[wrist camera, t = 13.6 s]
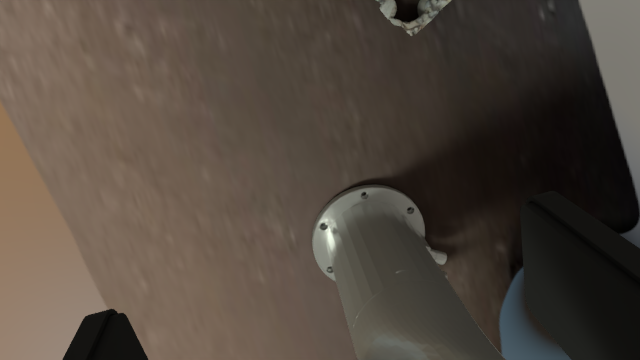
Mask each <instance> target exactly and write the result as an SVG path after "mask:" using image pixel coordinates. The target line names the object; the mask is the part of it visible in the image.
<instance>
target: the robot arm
mask: <svg viewBox="0 0 640 360" xmlns="http://www.w3.org/2000/svg"><path fill="white" fill-rule="evenodd" d="M363 192H365V193H364V194H362V193H363ZM409 207H410V208H409ZM408 208H409V209H408ZM520 217H521V233H522V249H523V265H524V282H525V297H526V302H527V304H528V307H529V309H530V311H531V312H532V314H533V315H534V316H535V317H536V318H537V320H538V321H539V322H540V323H541V324H542V325H543V327H544V328H545V329H546V330H547V331H548V333H549V334H550V335H551V336H552V337H553V338H554V340H555V341H556V342H557V343H558V344H559V346H560V347H561V348H562V349H563V350H564V351H565V353H566V354H567V355H568V356H569V357H570V358H571V359H572V360H640V249H639V248H638V247H637V246H635V245H634V244H632V243H631V242H629V241H628V240H626V239H625V238H623V237H622V236H620V235H619V234H617V233H616V232H615V231H613V230H612V229H610V228H609V227H607V226H606V225H604V224H603V223H601V222H600V221H598V220H597V219H596V218H594V217H593V216H591V215H590V214H588V213H587V212H585V211H584V210H582V209H581V208H579V207H578V206H576V205H575V204H574V203H572V202H571V201H569V200H568V199H566V198H565V197H563V196H562V195H560V194H559V193H557V192H555V191H549V192H546V193H542V194H538V195H535V196H531V197H529V198H527V201H526V204H525V205H522V206H521V209H520ZM322 223H325V224H323V225H321V224H322ZM312 247H313V252H314V256H315V259H316V261H317V263H318V265H319V267H320V268H321V270H322V271H323V272H324V273H325V274H326V275H327V276H328V277H330V278H331V279H332V280H334V281H335V282H336V283H337V287H338V290H339V294H340V298H341V301H342V305H343V309H344V312H345V316H346V320H347V323H348V327H349V331H350V334H351V338H352V342H353V345H354V349H355V352H356V356H357V359H358V360H506V359H505V358H504V357H503V356H502V355H501V354H500V353H499V352H498V350H497V349H496V348H495V347H494V346H493V345H492V343H491V342H490V341H489V340H488V338H487V337H486V336H485V334H484V333H483V332H482V330H481V329H480V328H479V326H478V325H477V323H476V322H475V320H474V319H473V318H472V316H471V315H470V313H469V312H468V310H467V309H466V307H465V306H464V304H463V303H462V301H461V300H460V298H459V297H458V295H457V293H456V292H455V290H454V289H453V287H452V286H451V284H450V283H449V281H448V280H447V273H446V272H445V271H441V269H440V268H439V266H438V264H441V265H443V264H444V263H445V262H446V260H447V254H446V253H445V252H442V251H438V250H433V249H431V248H430V246H429V245H428V243H427V242H426V240H425V224H424V221H423V217H422V215H421V213H420V211H419V209H418V208H417V206H416V205H415V204H414V202H413V201H412V200H411V199H410V198H409V197H408V196H407V195H405V194H404V193H402V192H400V191H399V190H397V189H394V188H391V187H388V186H384V185H376V184H375V185H363V186H358V187H354V188H352V189H349V190H347V191H344V192H343V193H341V194H339V195H338V196H336V197H335V198H333V199H332V200H331V201H330V202H329V203H328V204H327V205H326V206H325V207H324V209H323V210H322V211H321V212H320V214H319V216H318V218H317V220H316V222H315V224H314V228H313V232H312ZM437 263H438V264H437ZM63 360H148V358H147V356H146V354H145V352H144V350H143V348H142V346H141V344H140V342H139V340H138V338H137V336H136V334H135V332H134V330H133V328H132V326H131V324H130V322H129V320H128V318H127V316H126V315H125V314H124V313H119V314H118V313H117V311H115V310H114V309H109V310H106V311H102V312H99V313H95V314H91V315H88V316H86V317H85V318H84V319H83V321H82V323H81V325H80V327H79V329H78V331H77V332H76V335H75V337H74V338H73V340H72V342H71V344H70V346H69V348H68V350H67V352H66V354H65V356H64V358H63Z"/></svg>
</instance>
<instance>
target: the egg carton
mask: <svg viewBox="0 0 640 360" xmlns="http://www.w3.org/2000/svg"><path fill="white" fill-rule="evenodd" d="M376 1H377V2H379V3H380V4H381V6H380V9H381V11H382V12H383V14H384V15H385V16H386V18H387V19H389V20H390V21H391V22H392V23H393V24H394V25H397V26H402V27H403V29H404V30H405V31H406V32H407V33H408V34H409V35H411V36H413V35H415V34H417V33H418V32H419V31H420V30H421V29H423V28H424V27H425V26H426V25H427V24H428V23H429V22H430V21H431V20H432V19H433V18H434V17H435V16H436V15H437V14H438V13H439V11H440V10H441V9H442V8H443V7H444V6H446V5H447V4H448V3H449V2H450V1H451V0H420V1H419V3H418V6H417V11H418V15H419V17H418V18H417V19H416V20H414V21H412V22H402V21H401V20H398V19H393V18H394V16H395V15H396V11H397V6H396V3H395V0H376Z"/></svg>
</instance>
